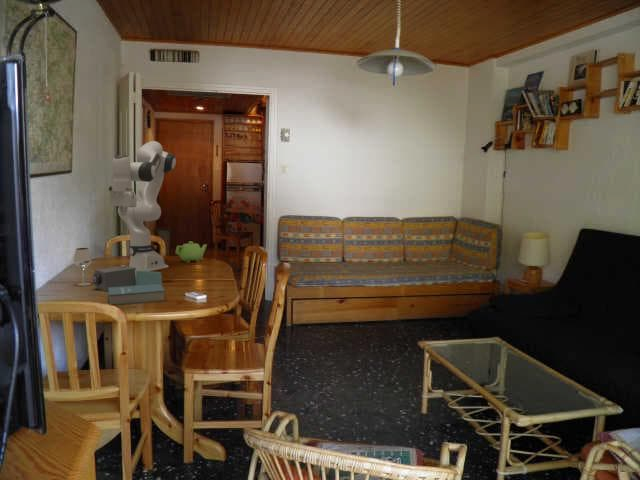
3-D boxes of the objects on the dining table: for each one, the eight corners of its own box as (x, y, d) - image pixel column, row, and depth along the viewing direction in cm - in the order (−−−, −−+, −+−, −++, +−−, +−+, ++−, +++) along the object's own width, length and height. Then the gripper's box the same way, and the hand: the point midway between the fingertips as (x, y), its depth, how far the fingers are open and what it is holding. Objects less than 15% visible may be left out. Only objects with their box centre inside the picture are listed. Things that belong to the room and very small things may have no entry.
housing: (126, 283, 266) (125, 264, 265) (136, 286, 260) (136, 266, 259) (91, 288, 253) (90, 268, 252) (101, 292, 246) (100, 271, 245)
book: (109, 306, 223) (109, 294, 222) (108, 297, 237) (108, 287, 237) (164, 301, 232) (164, 290, 231) (160, 293, 246) (160, 283, 246)
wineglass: (75, 286, 257) (73, 250, 254) (74, 283, 264) (72, 248, 262) (93, 285, 260) (91, 249, 258) (92, 282, 268) (90, 247, 265)
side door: (135, 285, 259) (134, 269, 258) (137, 285, 261) (137, 269, 260) (160, 288, 254) (160, 272, 252) (163, 287, 255) (162, 271, 254)
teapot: (203, 258, 343) (203, 239, 341) (210, 261, 331) (210, 241, 330) (172, 261, 332) (172, 241, 331) (179, 264, 321) (178, 243, 319)
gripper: (139, 188, 258) (140, 216, 260) (118, 187, 271) (119, 214, 273) (127, 188, 253) (128, 217, 255) (106, 187, 266) (107, 214, 268)
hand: (123, 215), depth 264 cm, fingers closed
